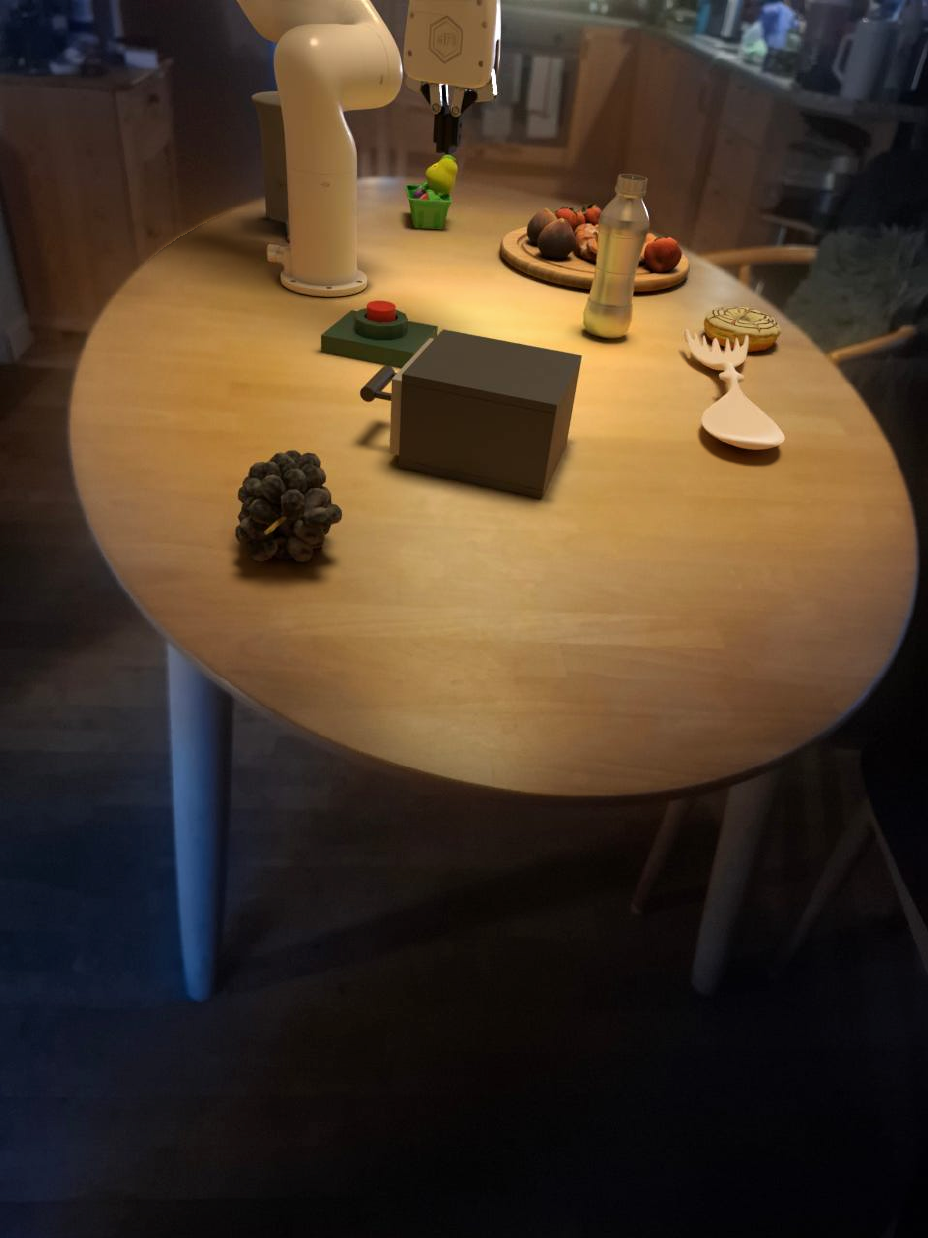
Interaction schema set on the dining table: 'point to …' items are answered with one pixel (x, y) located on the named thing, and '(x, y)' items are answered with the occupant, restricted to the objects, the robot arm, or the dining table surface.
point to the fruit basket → (433, 195)
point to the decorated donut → (742, 327)
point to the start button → (381, 311)
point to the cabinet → (487, 411)
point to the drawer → (390, 395)
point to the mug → (273, 156)
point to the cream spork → (734, 400)
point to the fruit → (285, 507)
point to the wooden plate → (585, 251)
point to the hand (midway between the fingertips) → (446, 151)
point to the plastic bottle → (617, 259)
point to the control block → (376, 338)
